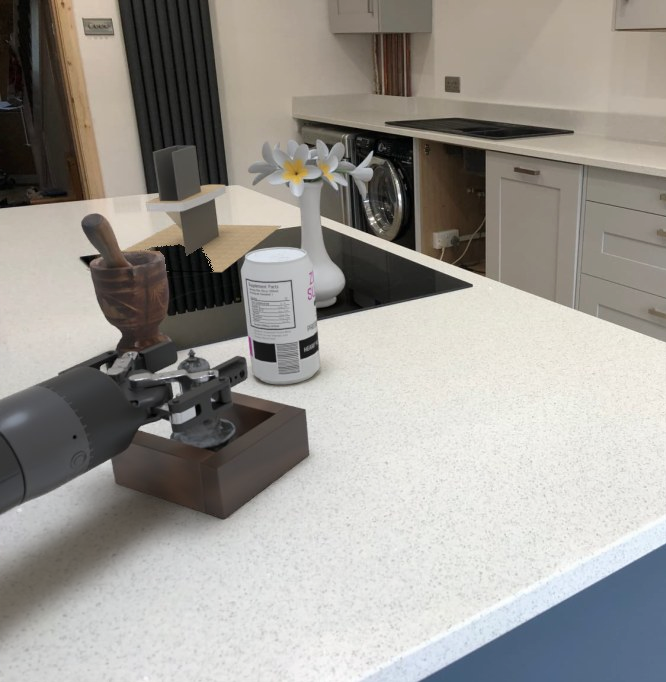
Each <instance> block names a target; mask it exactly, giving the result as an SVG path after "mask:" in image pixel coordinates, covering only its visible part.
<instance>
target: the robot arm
mask: <svg viewBox="0 0 666 682" xmlns="http://www.w3.org/2000/svg"><path fill="white" fill-rule="evenodd" d="M178 359H179V357H178V350H177V343H176V342H175V341H172V340H171V341H164V342H162V343H159V344H157V345H155V346H152V347H150V348H148V349H145V350H143V351H141V352H135V351H130V352H127V353H124V354H123V356H119V355H118V351H115V350H114V349H113V350H111V349H110V350H107V351H104V352H102V353H100V354H97V355H95V356H93V357H90V358H89V359H87V360H84V361H82V362H80V363H77V364H75V365H73V366H71V367H69V368H66V369H64V370H62V371H60V372H58V374H57V375H56V376H53V377H51V378H48V379H46V380H44V381H41V382H39V383H36V384H34V385H32V386H29V387H27V388H24V389H22V390H19V391H17V392H14V393H12V394H10V395H7V396H5V397H2V398H0V517H2V515H5V514H7V513H8V512H10V511H12V510H14V509H15V508H17V507H19V506H21V505H24V504H25V503H28V502H30V501H32V500H36V499H38V498H40V497H43V496H45V495H48V494H49V493H52V492H54V491H55V490H57V489H60V488H61V487H63V486H65V485H66V484H68V483H70V482H72V481H73V480H75V479H77V478H79V477H81V476H82V475H84V474H86V473H88V472H90V471H91V470H93V469H95V468H97V467H98V466H101V465H102V464H104V463H106V462H107V461H109V460H111V458H113V457H115V456H117V455H118V454H120V453H122V452H124V451H125V450H126V449H127V448H128V447H129V446H130V444H131V442H132V440H133V438H134V436H135V434H136V432H137V431H138V430H139V429H140V428H141V427H143V426H145V425H149V424H152V423H157V422H158V421H161V420H163V421H167V422H170V426H171V427H170V428H171V433H172V432H174V433H181V432H184V431H186V430H188V429H190V428H192V427H194V426H196V425H198V424H200V423H202V422H203V421H205V420H207V419H209V418H211V417H213V416H215V415H217V414H219V413H220V412H222V411H224V410H226V409H228V408H230V407H232V406H233V402H232V394H231V391H232V388H233V387H236V386H237V385H239V384H241V383H243V382H245V381H246V380H247V379H248V378H249V377H248V376H249V372H248V363H247V358H246V357H245V356H241V355H235V356H233V357H231V358H229V359H227V360H225V361H224V362H221V363H220V364H217V365H215V366H213V367H210V370H208V371H202V372H196V373H188V372H187V371H186V370H184V369H181V370H177V369H175V370H171V371H164V372H159V371H161V370H164V369H166V368H168V367H170V366H172V365H175V364H176V363H177V361H178ZM103 365H105V369H106V372H104V371H102V370H101V367H102V366H103ZM158 372H159V373H158ZM200 382H205V384H203V385H201V386H199V387H197V388H194V389H192V390H191V386H192V384H195V383H200ZM172 383H178V384H179V383H180V386H179V388H180V387H181V393H176V394H175V397H174V390H173V384H172ZM214 401H215V402H214ZM211 402H213V403H211Z"/></svg>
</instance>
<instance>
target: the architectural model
mask: <svg viewBox="0 0 666 682" xmlns="http://www.w3.org/2000/svg"><path fill="white" fill-rule="evenodd" d="M196 148H197V147H196V145H173V146H170V147H166V148H163V149H159V150H156V151H152V157H153V164H154V172H155V177H156V178H155V179H156V185H157V191H158V192H157V193H158V196H157V197H156V198H153V199H150V200H148V201H146V202H145V206H146V211H147V212H151V213H153V212H156V213H165V214H166V215H167V216H168V217H169V218H170V219H171V221H173V224H171V225H170V226H168V227H166V228H164V229H162V230H160V231H158V232H156V233H154V234H152V235H150V236H147V238H144V239H142V240H141V241H138V242H137V243H135V244H133V245H131V246H129V247H127V248H126V249H122V250H121V252H123V251H126V252H129V251H136V250H138V251H140V250H145V249H146V250H147V249H149V248H151V247H157V246H158V247H161V246H162V247H163V246H166V245H167V246H170V245H171V246H174V245H178V244H180V245H182V246H184V247H185V253H186V256H188V255H189V254H191V253H193V252H194V251H196V250H197V249H199V248H201V247H202V248H203V249H202V250H204V251H202V252H203V253H205V256H207V257H208V258H209V259H210V260H211V261H210V260H209V259H208V258H207V257H206V258H207V259H208V260H209V261H210V262H211V263H210V264H211V265H212V266H211V268H212V267H213V268H212V269H213V270H214V271H213V270H212V271H213V272H212V273H223V272H224V271H225V270H227V269H228V268H229V267H231V266H232V265H233V264H234V263H235V262H237V261H238V260H240V259H241V258H242V257H243V256H245V255H246V254H248V253H249V252H250V251H251V250H252V249H254V248H255V247H256V246H257V245H258V244H260V243H262V241H265V239H266V238H268V237H269V236H270V235H271V234H273V233H274V232H275V231H277V230H278V229H279V228H280V227H281V225H256V224H255V225H253V224H251V225H248V224H247V225H246V224H218V223H219V222H218V214H217V205H216V198H218V197H220V196H223V195H225V194H227V192H226V191H227V190H226V184H204V185H201V181H200V180H201V179H200V171H199V164H198V163H199V162H198V156H197V149H196ZM206 254H207V255H206ZM209 261H208V263H209ZM210 264H209V266H210ZM86 271H90V267H89V268H87V269H86Z"/></svg>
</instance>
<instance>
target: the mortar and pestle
mask: <svg viewBox="0 0 666 682" xmlns="http://www.w3.org/2000/svg"><path fill="white" fill-rule="evenodd" d="M80 222H81V223H80V225H81V230H82V231H83V233H84V234H85V237H86V238H87V240H88V241H89V243H90V244H91V245H92V246H93V248H94V249H95V250H96V251H97V252H98V253H99V254H100V256H99V257H98V258H94V259H93V260H91V261H90V262H89V265H88V266H89V268H90V270H89V271H90V277H91V280H92V284H93V288H94V294H95V298H96V301H97V303H98V306H99V308H100V311H101V312H102V314H103V315H104V319H105V320H106V321H107V322H108V323H109V324H110V325H111V326H113V327H115V328H116V329H117V330H118V331H119V332H120V333H121V337H120V338H119V341H118V343H117V344H116V347H115V351H118V355H119V356H123V354H124V353H127V352H130V351H135V352H141V351H143V350H145V349H148V348H150V347H152V346H155V345H157V344H159V343H162V342H164V341H172V339H171V338H170V337H169V336H168V335H166V334H163V333H162V332H160V328H159V326H160V324H161V323H162V322H163V320H164V319H165V318H166V316H167V313H168V309H169V302H170V290H169V280H168V277H167V276H168V274H167V272H168V271H166V264H165V257H164V255H163V254H162V253H161V252H160V251H150V250H141V251H138V250H136V251H129V252H126V251H123V250H121V247H120V246H119V242H118V240H117V238H116V234H115V232H114V231H115V230H114V229H113V227H112V225H111V223H110V221H109V220H108V219H107V218H106V217H105V216H104V215H102V214H100V213H97V212H96V213H89V214H87V215H85V216H84V217H83V218H82V219H81V221H80ZM121 251H123V252H121Z"/></svg>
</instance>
